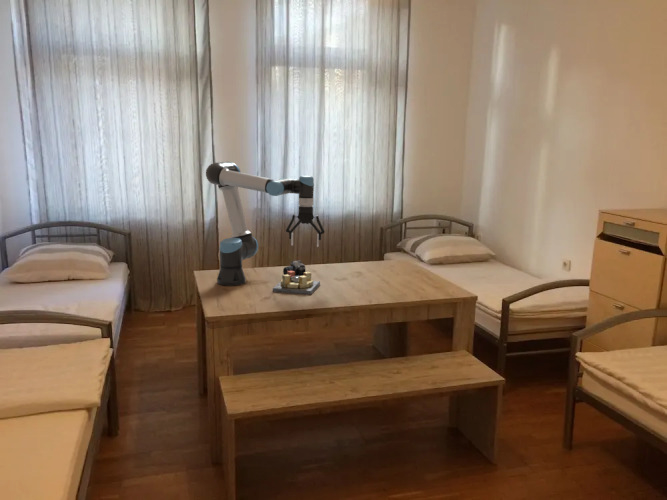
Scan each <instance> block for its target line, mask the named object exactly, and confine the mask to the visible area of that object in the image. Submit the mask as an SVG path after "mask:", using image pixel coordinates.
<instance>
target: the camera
mask: <svg viewBox="0 0 667 500" xmlns="http://www.w3.org/2000/svg"><path fill="white" fill-rule="evenodd" d="M287 271H294V272H295V276H303V273H304V272H307V271H306V266H305V264H303V262H302V260H299V259H298V260H291V262H290V265H289V266H284V267H283V271H282V275H287Z"/></svg>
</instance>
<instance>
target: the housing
mask: <svg viewBox="0 0 667 500" xmlns="http://www.w3.org/2000/svg"><path fill="white" fill-rule="evenodd" d="M291 282H293V283H299V276H292V277H291ZM319 286H321V281H319V280H313V285H312V286H311V287H306V288H288V287H284V286H282V285H281V281H280V282H278V283H276V285H275V286H273V287H272V292H273V293H281V294H282V293H285V294H293V295H294V294H296V295H312V294H313V293H314V292H315V291H316V290H317V289H318V287H319Z"/></svg>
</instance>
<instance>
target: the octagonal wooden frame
mask: <svg viewBox="0 0 667 500" xmlns="http://www.w3.org/2000/svg"><path fill="white" fill-rule="evenodd" d="M292 276H295V272H294V271H287V275H284V274H282V277H281V278H282V279H281V280H280V282H281V285H282V286H284V287H288V288H306V287H311V286H312V285H313V281H314V280H313V278H312V272H310V271H306V272H304V273H303V276H299V283H293V282H291V277H292Z"/></svg>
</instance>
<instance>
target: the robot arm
mask: <svg viewBox="0 0 667 500" xmlns="http://www.w3.org/2000/svg"><path fill="white" fill-rule="evenodd" d="M205 177H206V180H207V181H208V182H209V183H210V184H212V185H217V187H218V190H219V191H221V192H222V195H223V196H222V197H223V199H224V202H225V209H226V211H227V215H228V219H229V224H230V228H231V232H232V235H231V237H229V238H224V239H222V240H221V241H220V242H219V272H218V275H217V278H216V283H217V284H218V285H219V286H228V287H232V286H240V285H244V284H245V283H246V282H247V281H246V276H245V272H244V270H243V261H244V260H246V259H250V258H252V257H253V256H255V255H256V254H257V252H258V250H259V242H258V240H257V239H256V238H255V237H254V236H253V233H252V232H251V231H250V230H249V229H248V224H247V219H246V216H245V212H244V207H243V204H242V200H241V195H240V192H239V188H242V189H245V190H251V191H256V192H261V193H265V194H268V195H270V196H272V197H278V196H282V195H288V194H295V195H296V194H297V195H298V205H299V206H298V214H292V217H291V220H290V221H289V224H288V226H287V227H286V230H285V233H288V236H289V238H288V239H289V240H290V242H291V243H290V245H291V246H292V247H293V246H294V230H295V229H297V227H298V226H299V225H300V224H305V225H309V224H310V225H311V226H312V228H313V229H314V230H315V231H316V233H317V235H316V247H317V248H319V246H320V245H319V244H320V241H321V239H322V235H323V234H325V232H326V231H325V229H324V227H323V225H322V222H321V220H320V216H319V215H318V214H317V215H314V207H313V206H314V189H315V182H314V181H315V179H314V177H313V176H311V175H300V176H299V178H298V179H295V178H287V177H285V178H282V177H281V178H279V179H275V178H274V179H273V178H269V177H264V176H258V175H254V174H249V173H244V172H242V171H241V169H240V168H239V166H238V165H237V164H236V163H234V162H233V161H232V162H231V161H222V162H214V163H211V164H209V165H208V166H207V168H206V170H205ZM296 219H298V221H297V222H296V223H295V224H294V226H293V227H292V225H293V223H294V221H295V220H296ZM313 220H315V221H316V223H317V225H318V226H317V225H316V224H315V223H314V221H313ZM291 227H292V228H291ZM318 227H319V228H318Z"/></svg>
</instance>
